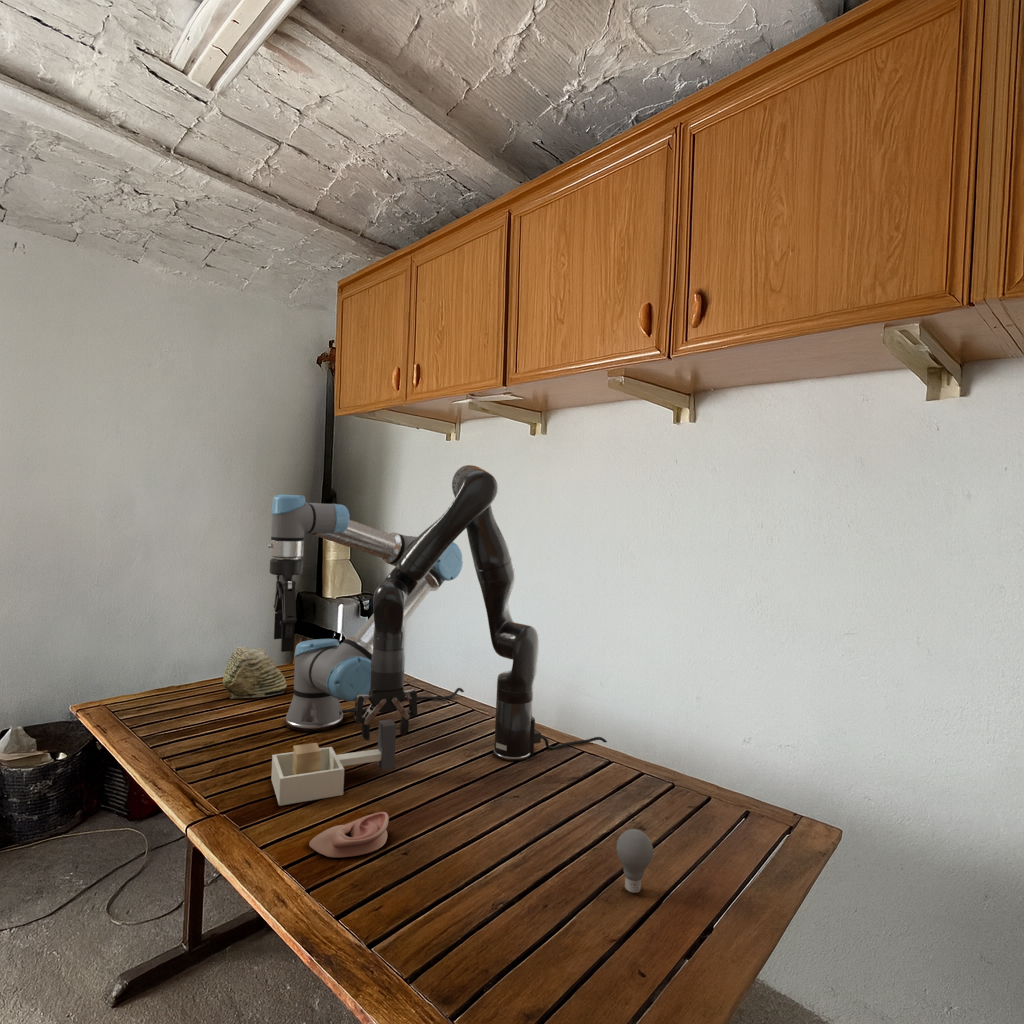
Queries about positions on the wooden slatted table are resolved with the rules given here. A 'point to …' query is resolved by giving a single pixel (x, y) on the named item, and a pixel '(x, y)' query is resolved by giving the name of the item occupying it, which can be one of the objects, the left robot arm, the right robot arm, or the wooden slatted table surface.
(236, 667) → the fossil
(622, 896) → the wooden slatted table surface
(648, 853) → the light bulb
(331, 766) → the handled bin
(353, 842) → the anatomical model
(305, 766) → the birch block
